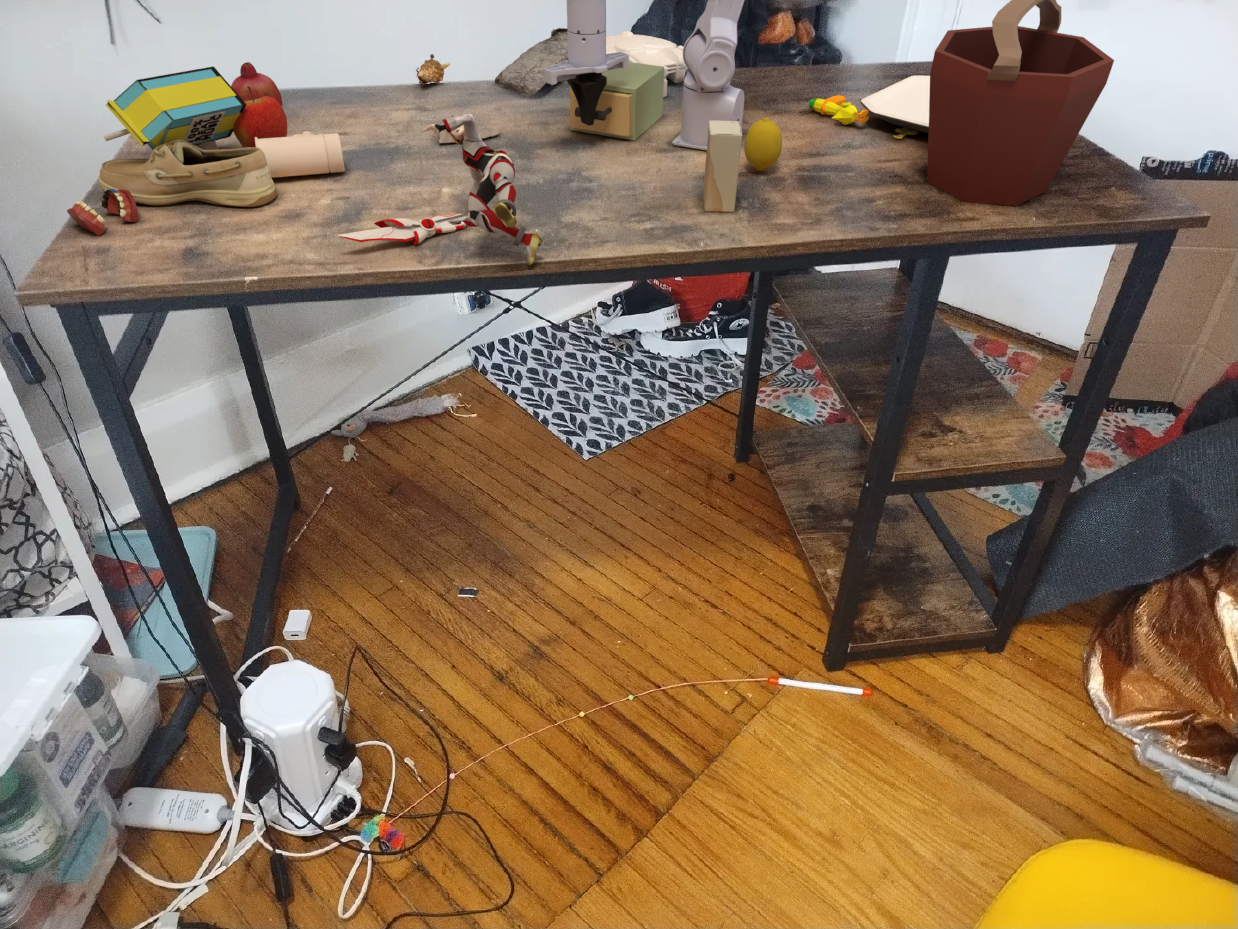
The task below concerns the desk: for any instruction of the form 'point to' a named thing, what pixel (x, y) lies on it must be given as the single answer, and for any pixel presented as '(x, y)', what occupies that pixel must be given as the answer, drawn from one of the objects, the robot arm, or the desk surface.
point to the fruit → (255, 84)
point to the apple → (260, 121)
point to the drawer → (606, 114)
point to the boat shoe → (193, 176)
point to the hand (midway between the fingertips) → (588, 123)
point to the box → (722, 165)
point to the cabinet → (637, 95)
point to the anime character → (489, 180)
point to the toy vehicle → (650, 53)
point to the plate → (903, 103)
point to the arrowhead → (483, 133)
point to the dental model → (113, 203)
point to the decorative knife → (905, 132)
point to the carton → (178, 108)
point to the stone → (534, 64)
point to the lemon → (763, 144)
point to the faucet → (302, 154)
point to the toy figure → (838, 109)
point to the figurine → (431, 71)
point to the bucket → (1009, 104)
